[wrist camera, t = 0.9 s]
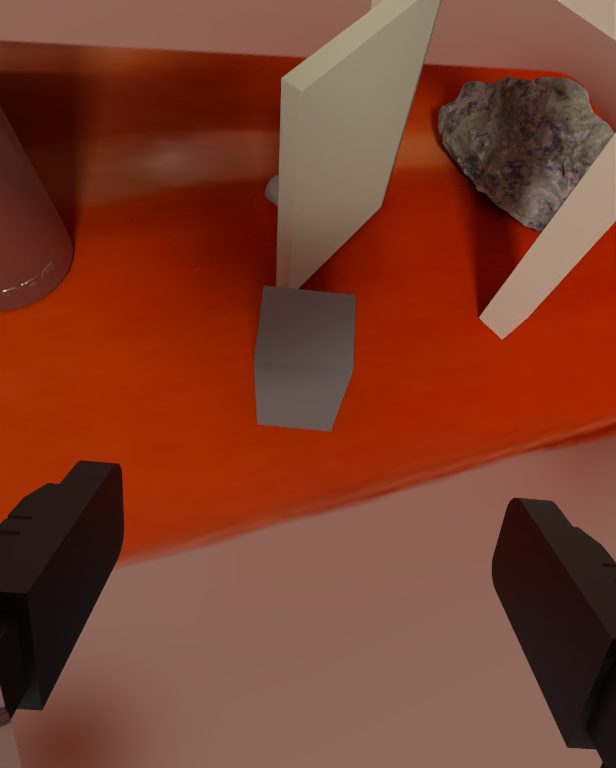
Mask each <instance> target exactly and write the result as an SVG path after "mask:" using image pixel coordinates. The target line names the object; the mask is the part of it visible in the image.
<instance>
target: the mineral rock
mask: <svg viewBox="0 0 616 768" xmlns="http://www.w3.org/2000/svg"><path fill="white" fill-rule="evenodd" d="M438 129H439V133H440V135H441V136H442V144H443V145H444V146H445V148H446V149H447V150H448V152H449V153H450V155H451V156H452V158H453V159H454V160H455V161H456V162H457V165H458V166H459V167H460V168H462V171H463V173H464V174H465V175H467V176H468V177H469V178H470V179H471V180H472V181H473V183H474V184H475V186H476V190H478V191H480V192H483V193H485V194H487V196H488V197H489V198H490V199H491V201H492V202H494V203H495V205H496V206H498V207H500V208H502V209H503V210H505V211H506V212H508V213H509V214H510V215H511V216H512V217H513V218H515V219H516V220H518V221H519V222H520V223H521V224H522V225H524V226H526V227H530V228H534V229H535V230H536V231H543V230H544V229H545V228H546V226H547V225H548V223H549V222H550V221H551V219H552V218H553V217H554V215H555V214H556V213H557V211H558V210H559V209H560V207H561V206H562V205H563V203H564V202H565V201H566V199H567V198H568V196H569V195H570V194H571V192H572V191H573V190H574V188H575V187H576V186H577V184H578V183H579V182H580V180H581V179H582V178H583V176H584V175H585V173H586V172H587V171H588V169H589V168H590V167H591V165H592V164H593V163H594V161H595V160H596V159H597V157H598V156H599V155H600V153H601V152H602V151H603V149H604V148H605V146H606V145H607V144H608V142H609V141H610V140H611V138H612V137H613V133H614V132H613V131H612V129H611V128H610V126H609V125H608V124H607V123H606V122H605V121H603V120H602V119H600V118H599V117H598V116H597V115H596V114H594V113H593V111H592V109H591V105H590V103H589V95H588V92H587V91H586V90H585V89H584V88H583V87H581V86H580V85H579V84H578V83H576V82H575V81H573V80H572V79H570V78H557V79H556V78H555V77H553V76H552V77H545V78H536V79H534V80H532V81H529V80H524V79H519V78H510V77H504V78H501V79H500V80H499V81H498V82H495V83H492V84H489V83H487V82H480V81H469V82H467V83H465V84H464V85H463V87H462V89H461V92H460V95H459V96H458V97H457V99H456V100H455V101H453V102H450V103H448V104H447V105H446V106H441V108H440V111H439V116H438Z"/></svg>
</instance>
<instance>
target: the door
mask: <svg viewBox="0 0 616 768" xmlns="http://www.w3.org/2000/svg"><path fill="white" fill-rule="evenodd" d="M441 2H442V0H384V1H382V2H381V3H380V4H378V5H377V6H376V7H374V8H373V9H372V10H371V11H369V12H368V13H367V14H365V15H364V16H363V17H361V18H360V19H359V20H357V21H356V22H355V23H353V24H352V25H351V26H349V27H348V28H347V29H345V30H344V31H343V32H342V33H340V34H339V35H338V36H336V37H335V38H334V39H332V40H331V41H330V42H328V43H327V44H326V45H325V46H323V47H322V48H320V49H319V50H318V51H317V52H315V53H314V54H313V55H311V56H310V57H309V58H307V59H306V60H305V61H303V62H302V63H301V64H299V65H298V66H297V67H295V68H294V69H293V70H291V71H290V72H289V73H288V74H286V75H285V76H284V77H282V78H281V114H280V151H279V174H277V175H275V176H274V177H273V178H272V179H271V180H270V181H269V183H268V184H267V187H266V189H265V197H266V198H267V199H268V200H270V201H271V202H272V203H274V204H275V205H277V206H278V227H277V265H276V287H284V288H293V289H299V288H300V287H301V286H302V285H303V284H304V283H305V282H306V281H307V280H308V279H309V278H310V277H311V276H312V275H313V274H314V273H315V272H316V271H317V270H318V269H319V268H320V267H321V266H322V265H323V264H324V263H325V262H326V261H327V260H328V259H329V258H330V257H331V256H332V255H333V254H334V253H335V252H336V251H337V250H338V249H339V248H340V247H341V246H342V245H343V244H344V243H345V242H346V241H347V240H348V239H349V238H350V237H351V236H352V235H353V234H354V233H355V232H356V231H357V230H358V229H359V228H360V227H361V226H362V225H363V224H364V223H365V222H366V221H367V220H368V219H369V218H370V217H371V216H372V215H373V214H374V213H375V212H376V211H377V210H378V209H379V208H380V207H381V205H382V202H383V201H384V199H385V195H386V192H387V188H388V185H389V181H390V178H391V174H392V171H393V168H394V164H395V161H396V157H397V154H398V150H399V147H400V143H401V140H402V136H403V133H404V130H405V126H406V123H407V119H408V116H409V112H410V109H411V105H412V102H413V98H414V95H415V91H416V88H417V85H418V81H419V78H420V74H421V71H422V67H423V64H424V60H425V57H426V53H427V50H428V47H429V43H430V40H431V36H432V33H433V29H434V26H435V22H436V19H437V15H438V12H439V8H440V5H441Z"/></svg>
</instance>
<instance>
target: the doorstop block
mask: <svg viewBox="0 0 616 768" xmlns="http://www.w3.org/2000/svg"><path fill="white" fill-rule="evenodd" d="M355 314H356V295H350V294H341V293H331V292H322V291H312V290H303V289H293V288H284V287H274V286H263V294H262V301H261V309H260V317H259V325H258V332H257V340H256V348H255V355H254V374H255V392H256V409H257V424H259V425H269V426H280V427H290V428H301V429H311V430H322V431H331V429H332V426H333V424H334V421H335V418H336V415H337V413H338V410H339V407H340V405H341V402H342V399H343V396H344V394H345V391H346V388H347V386H348V383H349V380H350V377H351V375H352V372H353V357H354V335H355Z"/></svg>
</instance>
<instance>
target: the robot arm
mask: <svg viewBox="0 0 616 768" xmlns="http://www.w3.org/2000/svg"><path fill="white" fill-rule="evenodd" d="M72 256H73V246H72V240H71V238H70V236H69V233H68V231H67V229H66V227H65V226H64V224H63V222H62V220H61V218H60V216H59V214H58V212H57V211H56V209H55V207H54V205H53V203H52V201H51V199H50V197H49V195H48V193H47V191H46V190H45V188H44V186H43V184H42V182H41V180H40V178H39V177H38V175H37V173H36V171H35V169H34V167H33V165H32V164H31V162H30V160H29V158H28V156H27V154H26V152H25V151H24V149H23V147H22V145H21V143H20V141H19V139H18V137H17V136H16V134H15V132H14V130H13V128H12V126H11V124H10V123H9V121H8V119H7V117H6V115H5V113H4V111H3V110H2V108H1V106H0V310H7V309H15V308H18V307H22V306H25V305H28V304H30V303H33V302H35V301H37V300H39V299H41V298H42V297H44V296H45V295H47V294H48V293H50V292H51V291H52V290H53V289H54V288H55V287H56V286H57V285H58V284H59V283H60V282H61V281H62V280H63V278H64V277H65V275H66V273H67V272H68V270H69V267H70V264H71V262H72ZM123 537H124V510H123V485H122V470H121V467H120V465H119V464H116V463H104V462H92V461H79V462H77V464H76V465H75V466H74V467H73V468H72V470H71V471H70V472H69V473H68V474H67V476H66V477H65V478H64V479H63V481H62V482H61V483H60V484H53V483H48V484H46V485H44V486H43V487H41V488H39V489H37V490H36V491H34V492H32V493H31V494H29V495H27V496H26V497H24V498H23V499H22V500H21V501H20V502H19V504H18V505H17V506H16V507H15V508H14V509H13V510H12V511H11V513H10V514H9V515H8V518H7V519H4V520H3V522H2V523H1V524H0V768H22V767H21V762H20V758H19V754H18V750H17V745H16V741H15V737H14V733H13V728H12V725H11V718H12V716H13V715H14V713H15V711H16V709H28V710H43V708H44V705H45V704H46V702H47V700H48V698H49V696H50V694H51V691H52V690H53V688H54V685H55V684H56V682H57V680H58V678H59V676H60V674H61V672H62V670H63V668H64V666H65V664H66V662H67V660H68V658H69V656H70V654H71V652H72V650H73V648H74V646H75V644H76V642H77V639H78V638H79V635H80V634H81V632H82V629H83V628H84V626H85V624H86V622H87V620H88V618H89V615H90V614H91V612H92V610H93V608H94V606H95V604H96V602H97V600H98V598H99V596H100V593H101V591H102V590H103V588H104V586H105V583H106V582H107V579H108V577H109V575H110V573H111V572H112V570H113V568H114V566H115V564H116V562H117V559H118V557H119V554H120V551H121V547H122V543H123ZM492 579H493V584H494V587H495V590H496V592H497V595H498V597H499V599H500V601H501V603H502V606H503V608H504V610H505V612H506V614H507V616H508V619H509V621H510V623H511V625H512V627H513V630H514V632H515V634H516V636H517V638H518V641H519V643H520V645H521V647H522V649H523V652H524V654H525V656H526V658H527V660H528V662H529V665H530V667H531V669H532V671H533V673H534V676H535V678H536V680H537V682H538V684H539V687H540V689H541V691H542V693H543V695H544V697H545V699H546V702H547V704H548V706H549V708H550V711H551V713H552V715H553V717H554V719H555V721H556V724H557V726H558V728H559V730H560V733H561V735H562V737H563V739H564V741H565V743H566V746H567V747H568V748H582V749H596V750H597V752H598V754H599V756H600V757H601V760H602V761H603V762H602V765H601V767H600V768H616V562H615V561H614V560H613V558H612V557H611V556H610V555H609V554H608V552H607V551H606V550H605V549H604V547H603V546H602V545H601V544H600V543H598V542H597V541H596V540H594V539H593V538H592V537H590V536H589V535H588V534H586V533H585V532H584V531H582V530H581V529H580V528H578V527H573V526H572V525H571V524H570V522H569V521H568V520H567V518H566V517H565V516H564V514H563V513H562V512H561V510H560V509H559V508H558V506H557V505H556V504H555V503H554V502H552V501H548V500H536V499H524V498H513V499H512V500H511V501H510V502H509V504H508V506H507V509H506V513H505V516H504V520H503V524H502V527H501V531H500V534H499V538H498V541H497V545H496V548H495V552H494V555H493V560H492Z"/></svg>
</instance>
